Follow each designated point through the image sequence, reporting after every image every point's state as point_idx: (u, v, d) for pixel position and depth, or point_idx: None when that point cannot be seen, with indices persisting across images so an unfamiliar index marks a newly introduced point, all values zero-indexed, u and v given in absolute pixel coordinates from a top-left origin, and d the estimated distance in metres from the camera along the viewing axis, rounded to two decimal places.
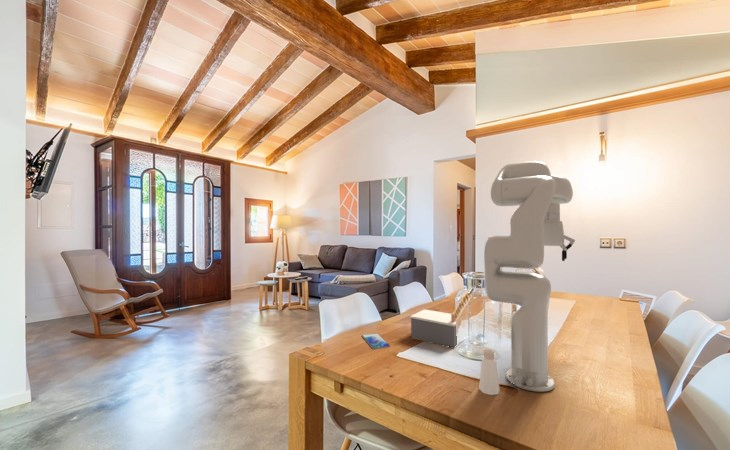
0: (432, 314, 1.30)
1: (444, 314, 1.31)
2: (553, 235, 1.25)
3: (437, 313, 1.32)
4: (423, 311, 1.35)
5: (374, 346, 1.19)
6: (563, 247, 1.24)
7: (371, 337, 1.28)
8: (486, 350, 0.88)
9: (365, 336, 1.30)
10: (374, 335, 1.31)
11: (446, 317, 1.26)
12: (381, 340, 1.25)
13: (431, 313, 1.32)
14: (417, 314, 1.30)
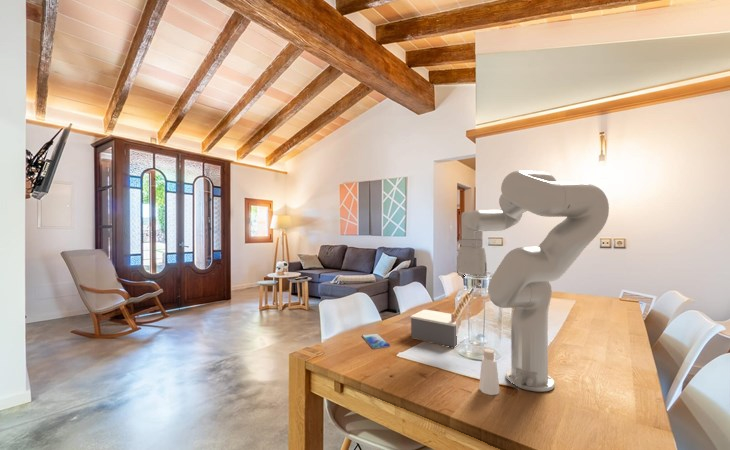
0: (432, 314, 1.30)
1: (444, 314, 1.31)
2: (474, 263, 1.16)
3: (437, 313, 1.32)
4: (423, 311, 1.35)
5: (374, 346, 1.19)
6: None
7: (371, 337, 1.28)
8: (486, 350, 0.88)
9: (365, 336, 1.30)
10: (374, 335, 1.31)
11: (446, 317, 1.26)
12: (381, 340, 1.25)
13: (431, 313, 1.32)
14: (417, 314, 1.30)
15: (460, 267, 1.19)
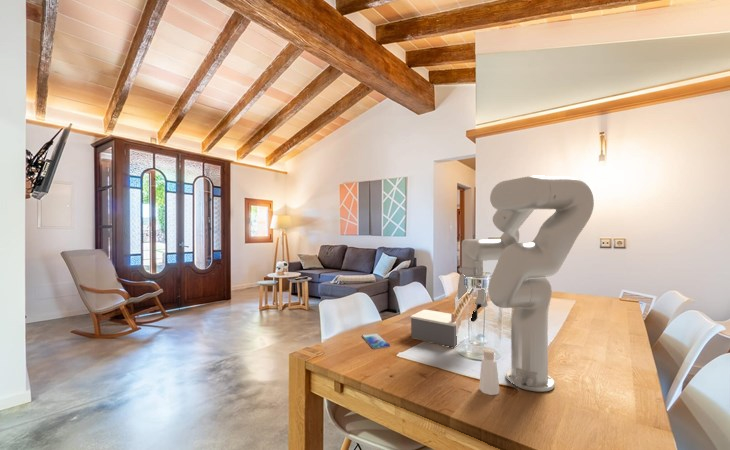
0: (432, 314, 1.30)
1: (444, 314, 1.31)
2: None
3: (437, 313, 1.32)
4: (423, 311, 1.35)
5: (374, 346, 1.19)
6: None
7: (371, 337, 1.28)
8: (486, 350, 0.88)
9: (365, 336, 1.30)
10: (374, 335, 1.31)
11: (446, 317, 1.26)
12: (381, 340, 1.25)
13: (431, 313, 1.32)
14: (417, 314, 1.30)
15: (461, 295, 1.19)
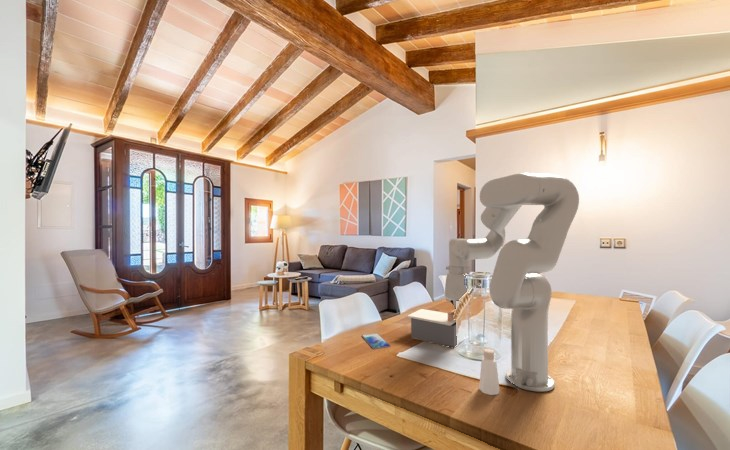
0: (429, 313, 1.31)
1: (440, 313, 1.32)
2: (461, 290, 1.19)
3: (434, 312, 1.33)
4: (420, 310, 1.36)
5: (374, 346, 1.19)
6: None
7: (371, 337, 1.28)
8: (486, 350, 0.88)
9: (365, 336, 1.30)
10: (374, 335, 1.31)
11: (443, 316, 1.27)
12: (381, 340, 1.25)
13: (428, 312, 1.33)
14: (414, 313, 1.31)
15: (448, 293, 1.22)
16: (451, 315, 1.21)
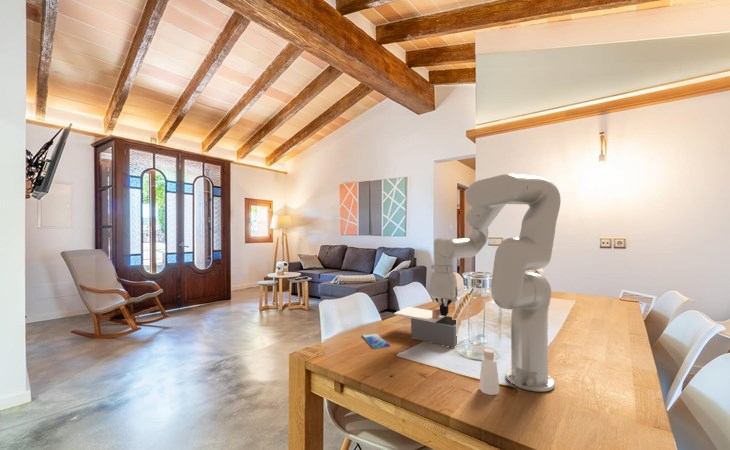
0: (415, 311, 1.35)
1: (426, 311, 1.35)
2: (445, 288, 1.23)
3: (420, 310, 1.36)
4: (407, 308, 1.40)
5: (374, 346, 1.19)
6: (444, 302, 1.25)
7: (371, 337, 1.28)
8: (486, 350, 0.88)
9: (365, 336, 1.30)
10: (374, 335, 1.31)
11: (428, 314, 1.31)
12: (381, 340, 1.25)
13: (415, 310, 1.37)
14: (401, 311, 1.35)
15: (433, 291, 1.26)
16: (436, 312, 1.25)
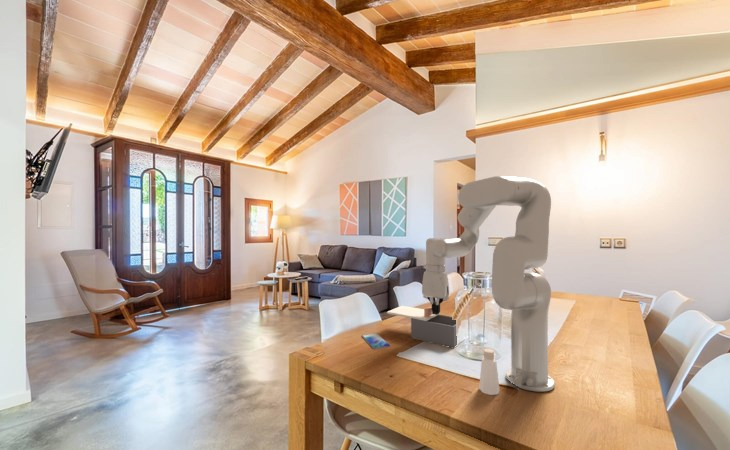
0: (408, 310, 1.37)
1: (419, 309, 1.37)
2: (436, 287, 1.25)
3: (413, 309, 1.38)
4: (400, 307, 1.42)
5: (374, 346, 1.19)
6: (435, 301, 1.27)
7: (371, 337, 1.28)
8: (486, 350, 0.88)
9: (365, 336, 1.30)
10: (373, 335, 1.31)
11: (421, 312, 1.33)
12: (381, 340, 1.25)
13: (408, 309, 1.39)
14: (394, 310, 1.37)
15: (425, 290, 1.28)
16: (427, 311, 1.27)
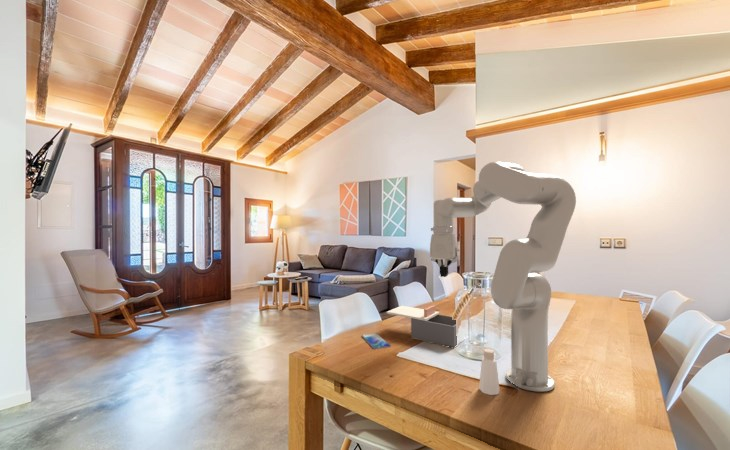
0: (408, 310, 1.37)
1: (419, 309, 1.38)
2: (445, 248, 1.24)
3: (413, 309, 1.39)
4: (400, 307, 1.42)
5: (375, 346, 1.19)
6: (444, 263, 1.26)
7: (371, 337, 1.28)
8: (486, 350, 0.88)
9: (365, 336, 1.29)
10: (373, 335, 1.31)
11: (420, 312, 1.33)
12: (381, 340, 1.25)
13: (407, 309, 1.39)
14: (393, 310, 1.37)
15: (432, 252, 1.27)
16: (427, 311, 1.27)
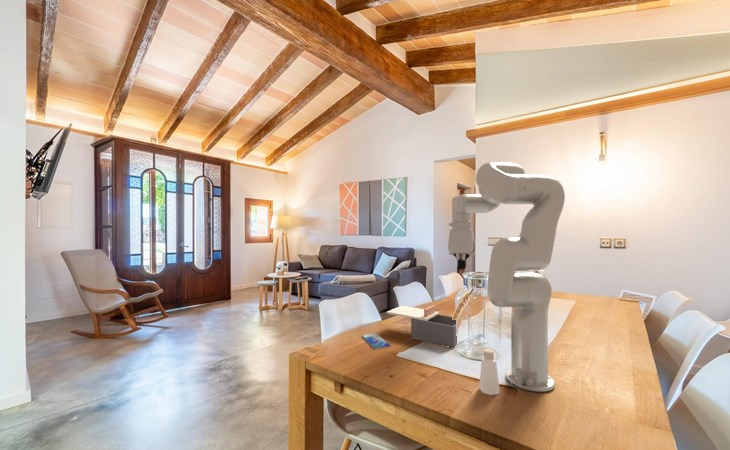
0: (408, 310, 1.37)
1: (419, 309, 1.38)
2: (463, 243, 1.30)
3: (413, 309, 1.39)
4: (400, 307, 1.42)
5: (375, 346, 1.19)
6: (462, 257, 1.31)
7: (371, 337, 1.28)
8: (486, 350, 0.88)
9: (365, 336, 1.29)
10: (373, 335, 1.31)
11: (420, 312, 1.33)
12: (381, 340, 1.25)
13: (407, 309, 1.39)
14: (393, 310, 1.37)
15: (451, 246, 1.33)
16: (427, 311, 1.27)
